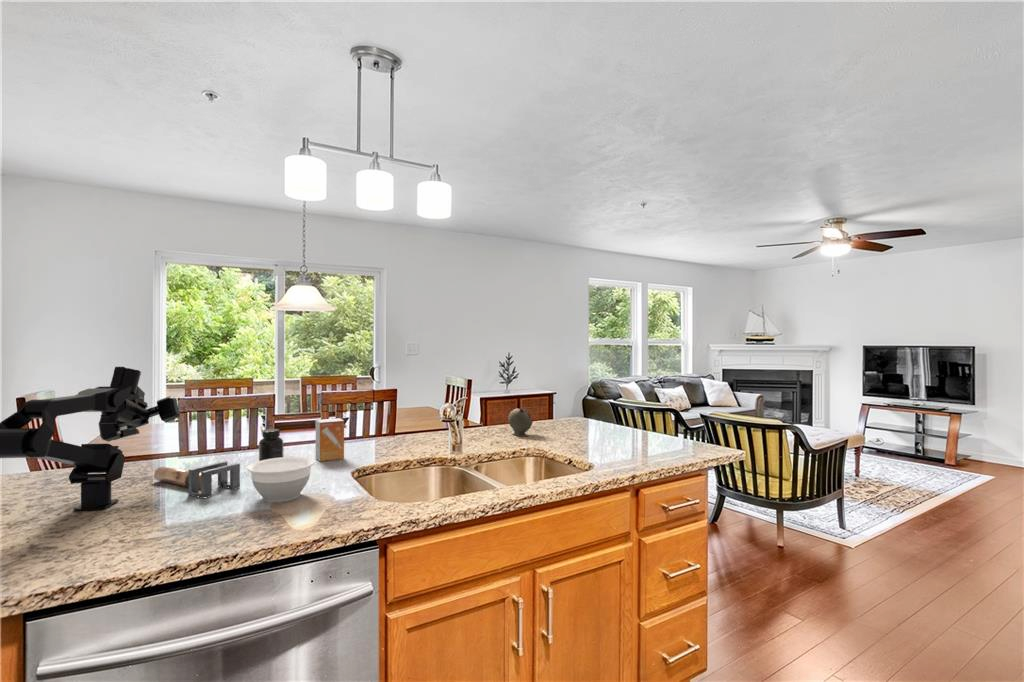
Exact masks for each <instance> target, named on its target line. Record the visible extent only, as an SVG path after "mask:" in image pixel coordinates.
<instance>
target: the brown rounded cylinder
mask: <svg viewBox="0 0 1024 682" xmlns="http://www.w3.org/2000/svg"><path fill="white" fill-rule="evenodd" d="M153 477H154V479H155V480H156V481H158V482H161V483H168V484H172V485H178V486H182V487H187V488H189V470H185V469H179V468H176V467H175V468H174V467H170V466H169V467H167V466H160V467H158V468H157V469H156V470H155V471H154V474H153ZM199 490H201V473H199Z"/></svg>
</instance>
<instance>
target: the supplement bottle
mask: <svg viewBox="0 0 1024 682" xmlns="http://www.w3.org/2000/svg"><path fill="white" fill-rule="evenodd" d="M280 432H281V431H280V429H279V428H268V429H264V430H262V438H261V439H260V440H259V441H258V442H259V443H258V461H262V460H266V459H272V458H280V457H284V440H283V439H282V437H280V436H281V434H280Z"/></svg>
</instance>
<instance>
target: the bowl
mask: <svg viewBox="0 0 1024 682" xmlns="http://www.w3.org/2000/svg"><path fill="white" fill-rule="evenodd" d="M315 464H316V462H315V460H314V459H313V458H310V457H305V456H283V457H280V458H272V459H266V460H262V461H259V460H258V461H255V462H251V464H249V465H247V467H246V470H247V472H250V474H251V480H252V484H253V487H254V488H255V489H256V491H257V493H258V494H259V495H260V496H261V497H262V501H263V500H264V501H263V502H265V501H266V503H271V502H277V503H283V502H284V501H286V502H290V501H293V499H294V500H296V499H298V498H300V497H301V493H302V491H303V490H304V488H305V487H306V485H307V483H308V482H309V480H310V476H311V468H312V466H314V465H315ZM289 500H290V501H289ZM284 503H285V502H284Z"/></svg>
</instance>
